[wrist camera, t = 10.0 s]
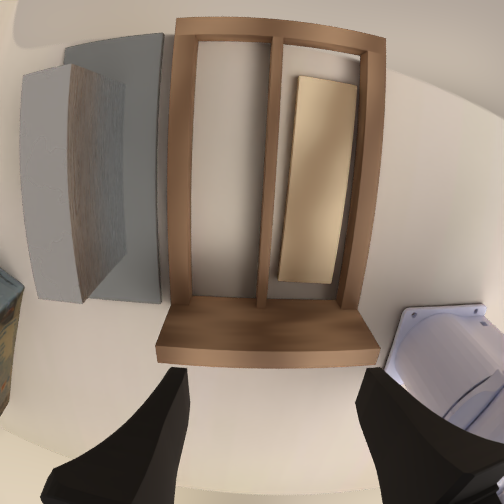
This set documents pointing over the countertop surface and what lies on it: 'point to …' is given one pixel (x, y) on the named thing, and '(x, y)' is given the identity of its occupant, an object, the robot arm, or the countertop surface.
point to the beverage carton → (8, 331)
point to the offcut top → (317, 179)
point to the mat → (133, 158)
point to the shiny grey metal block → (72, 179)
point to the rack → (270, 218)
